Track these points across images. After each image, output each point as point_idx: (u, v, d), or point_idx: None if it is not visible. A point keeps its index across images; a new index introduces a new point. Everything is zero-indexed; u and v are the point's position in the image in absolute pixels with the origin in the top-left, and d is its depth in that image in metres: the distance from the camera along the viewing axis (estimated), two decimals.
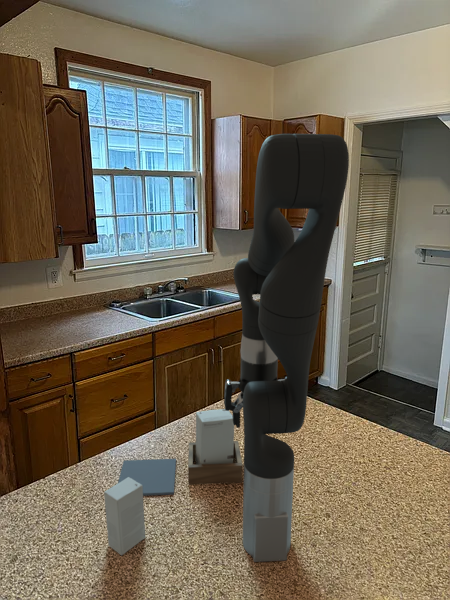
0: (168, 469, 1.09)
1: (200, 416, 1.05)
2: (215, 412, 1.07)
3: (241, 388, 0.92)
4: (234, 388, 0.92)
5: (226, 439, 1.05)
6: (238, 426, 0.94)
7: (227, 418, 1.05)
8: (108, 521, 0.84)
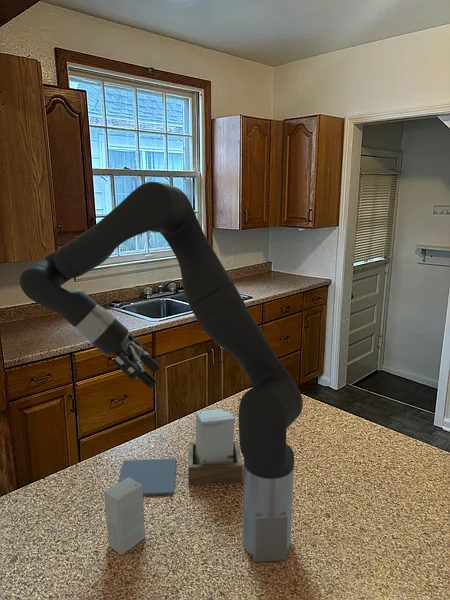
0: (168, 469, 1.09)
1: (200, 416, 1.05)
2: (215, 412, 1.07)
3: (125, 352, 0.97)
4: None
5: (226, 439, 1.05)
6: (155, 380, 0.99)
7: (227, 418, 1.05)
8: (108, 521, 0.84)
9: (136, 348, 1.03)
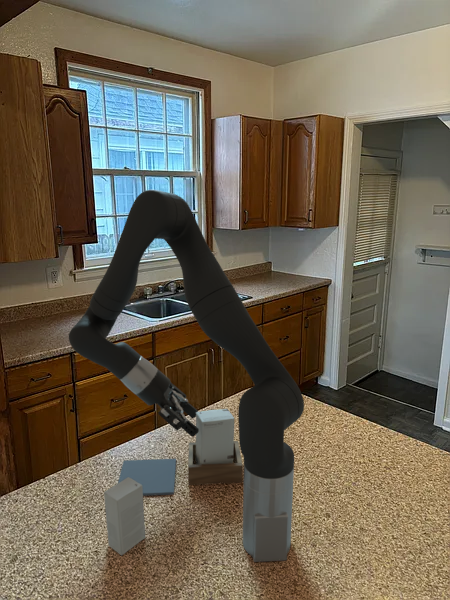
0: (168, 469, 1.09)
1: (200, 416, 1.05)
2: (215, 412, 1.07)
3: (169, 403, 1.00)
4: None
5: (226, 439, 1.05)
6: (197, 429, 1.02)
7: (227, 418, 1.05)
8: (108, 521, 0.84)
9: (177, 396, 1.06)
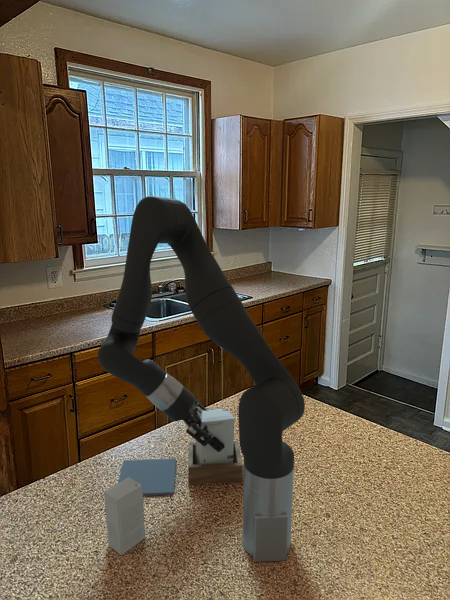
0: (168, 469, 1.09)
1: None
2: (216, 412, 1.07)
3: (195, 420, 1.02)
4: None
5: (226, 439, 1.05)
6: (223, 444, 1.04)
7: (227, 418, 1.05)
8: (108, 521, 0.84)
9: None
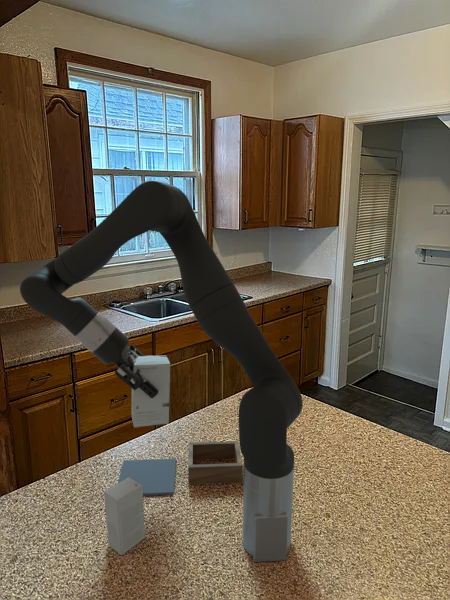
0: (168, 469, 1.09)
1: None
2: (152, 358, 1.01)
3: (126, 362, 0.96)
4: None
5: (160, 385, 0.99)
6: (157, 390, 0.98)
7: (162, 363, 0.99)
8: (108, 521, 0.84)
9: None
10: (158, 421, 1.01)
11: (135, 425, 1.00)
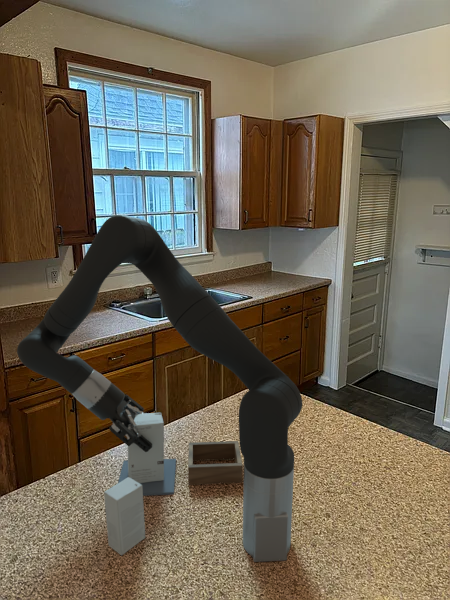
0: (168, 469, 1.09)
1: None
2: (146, 416, 1.04)
3: (121, 418, 0.98)
4: None
5: (155, 444, 1.02)
6: (151, 444, 1.00)
7: (156, 422, 1.01)
8: (108, 521, 0.84)
9: (132, 410, 1.04)
10: (153, 478, 1.04)
11: None
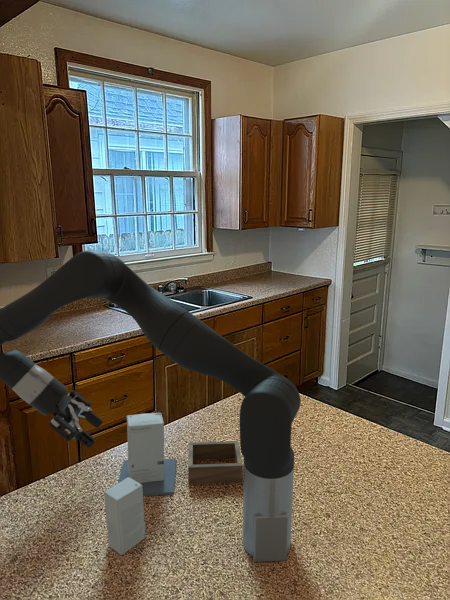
0: (168, 469, 1.09)
1: (129, 420, 1.02)
2: (146, 416, 1.04)
3: (62, 413, 0.97)
4: None
5: (155, 444, 1.02)
6: (94, 439, 0.98)
7: (156, 422, 1.01)
8: (108, 521, 0.84)
9: (76, 405, 1.03)
10: (153, 478, 1.04)
11: None
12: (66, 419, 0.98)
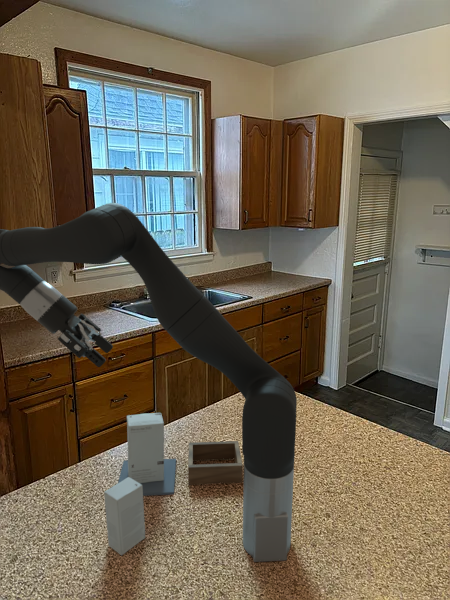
0: (168, 469, 1.09)
1: (129, 420, 1.02)
2: (146, 416, 1.04)
3: (72, 330, 0.93)
4: None
5: (155, 444, 1.02)
6: (104, 358, 0.95)
7: (156, 422, 1.01)
8: (108, 521, 0.84)
9: (86, 327, 0.99)
10: (153, 478, 1.04)
11: None
12: (76, 337, 0.94)
